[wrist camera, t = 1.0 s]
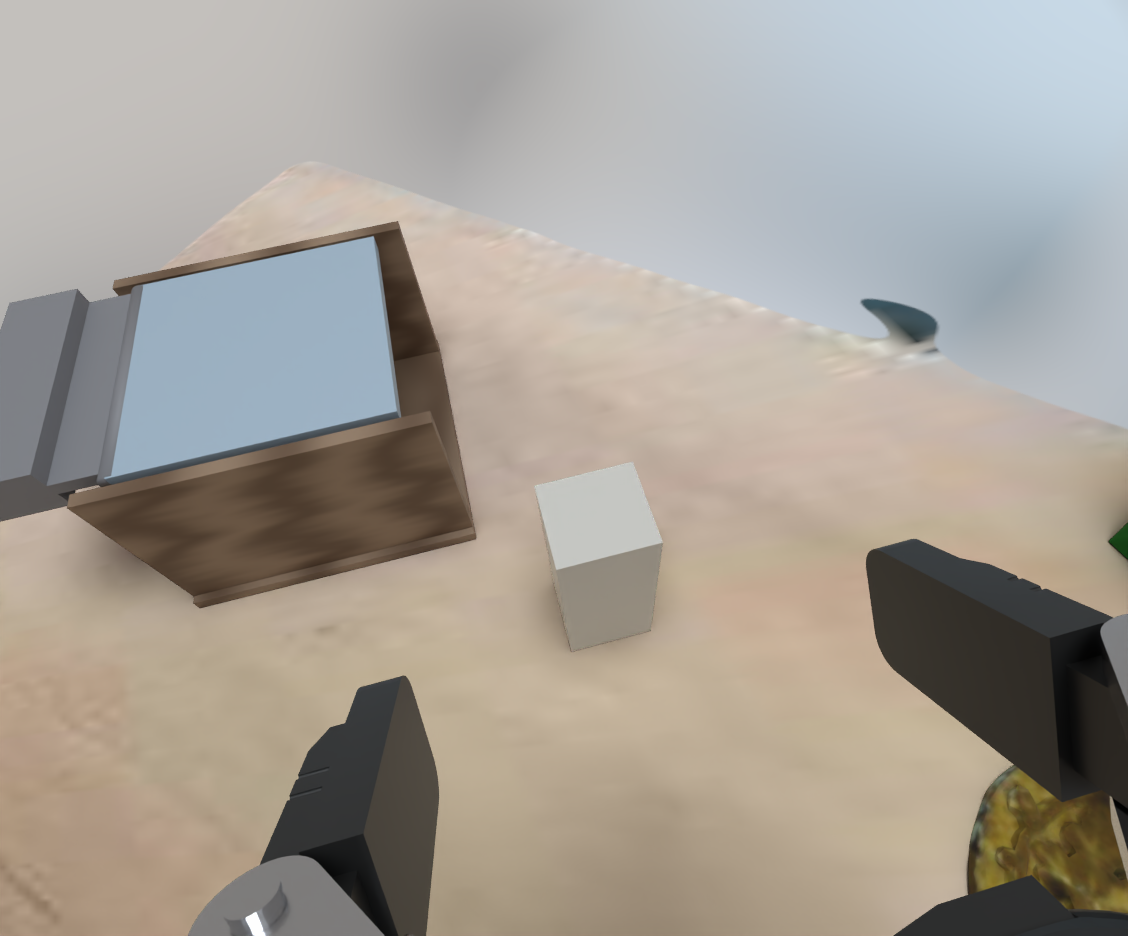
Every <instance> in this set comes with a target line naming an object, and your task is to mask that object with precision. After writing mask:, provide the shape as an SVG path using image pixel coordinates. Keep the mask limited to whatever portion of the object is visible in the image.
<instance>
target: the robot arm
mask: <svg viewBox="0 0 1128 936" xmlns="http://www.w3.org/2000/svg"><path fill="white" fill-rule="evenodd" d="M866 570H867V577H868V584H869V592H870V599H871V606H872V613H873V621H874V628H875V635H876V639H877V642H878V645H879V648H880V650H881V652H882V654H883V656H884V658H885V659H886V661H887V662H888V664H889V665H890V666H891V667H892V668H893V669H894V670H895V671H896V672H897V673H898V674H900V675H901V676H902V677H903V678H905V679H906V680H907V681H909V682H910V683H911V684H912V685H914V686H915V687H916V688H917V689H919V690H920V691H921V692H922V693H924V694H925V695H926V696H928V697H929V698H930V699H931V700H933V701H934V702H935V703H936V704H938V705H939V706H940V707H942V708H943V709H944V710H945V711H947V712H948V713H949V714H950V715H952V716H953V717H954V718H955V719H957V720H958V721H959V722H961V723H962V724H963V725H964V726H966V727H967V728H968V729H969V730H971V731H972V732H973V733H975V734H976V735H977V736H978V737H980V738H981V739H982V740H983V741H985V742H986V743H987V744H989V745H990V746H991V747H992V748H994V749H995V750H996V751H997V752H999V753H1000V754H1001V755H1002V756H1004V757H1005V758H1006V759H1008V760H1009V761H1010V762H1011V763H1013V764H1014V765H1015V766H1016V767H1018V768H1019V769H1020V770H1022V771H1023V772H1024V773H1025V774H1027V775H1028V776H1029V777H1030V778H1032V779H1033V780H1034V781H1035V782H1037V783H1038V784H1039V785H1041V786H1042V787H1043V788H1044V789H1046V790H1047V791H1048V792H1049V793H1051V794H1052V795H1053V796H1055V797H1056V798H1057V799H1058V800H1060V801H1061V802H1065V801H1068V800H1071V799H1074V798H1078V797H1081V796H1084V795H1087V794H1090V793H1094V792H1097V791H1100V790H1103V791H1104V792H1105V793H1107V794H1108V795H1110V812H1111V822H1112V826H1113V829H1114V833H1115V836H1116V840H1117V844H1118V847H1119V851H1120V854H1121V858H1122V862H1123V865H1124V869H1125V872H1126V876H1127V880H1128V614H1125V615H1121V616H1117V617H1115V618H1113V617H1111V616H1108V615H1106V614H1104V613H1101V612H1099V611H1097V610H1095V609H1092V608H1090V607H1088V606H1085V605H1083V604H1081V603H1078V602H1076V601H1074V600H1071V599H1069V598H1067V597H1064V596H1062V595H1060V594H1057V593H1055V592H1053V591H1050V590H1048V589H1043V590H1042V589H1041V588H1040V586H1039V585H1036V584H1034V583H1032V582H1030V581H1027V580H1025V579H1023V578H1022V579H1018V578H1017V576H1016V575H1013V574H1011V573H1009V572H1006V571H1004V570H1002V569H999V568H997V567H995V566H992V565H990V564H986V563H981V562H976V561H971V560H966V559H961V558H958V557H956V556H954V555H951V554H949V553H947V552H945V551H942V550H940V549H938V548H936V547H933V546H931V545H929V544H927V543H924V542H922V541H920V540H917V539H910V540H907V541H903V542H899V543H896V544H892V545H888V546H885V547H881V548H877V549H873V550H871V551H870V552H869V553H868V555H867V559H866ZM298 776H299V779H298V780H296V781H295V784H294V786H293V788H292V791H291V793H290V795H289V796H290V800H288V801H287V802H286V805H285V807H284V809H283V812H282V814H281V816H280V819H279V821H278V823H277V826H276V828H275V830H274V833H273V835H272V837H271V840H270V842H269V844H268V847H267V849H266V851H265V854H264V856H263V858H262V861H261V863H260V865H259V866H257V867H255V868H253V869H251V870H249V871H248V872H246V873H244V874H243V875H241V876H240V877H238V878H237V879H235V880H234V881H233V882H231V883H230V884H229V885H227V886H226V887H225V888H224V889H223V890H222V891H220V892H219V893H218V894H217V895H216V896H215V897H214V898H213V899H212V900H211V901H210V902H209V903H208V904H207V906H206V907H205V908H204V909H203V911H202V912H201V913H200V914H199V916H198V917H197V919H196V921H195V922H194V924H193V925H192V928H191V930H190V932H189V934H188V936H426V929H427V919H428V909H429V898H430V888H431V877H432V867H433V856H434V846H435V836H436V825H437V815H438V804H439V786H438V777H437V771H436V766H435V762H434V758H433V754H432V751H431V748H430V745H429V741H428V738H427V735H426V732H425V728H424V725H423V722H422V719H421V715H420V712H419V709H418V706H417V702H416V699H415V696H414V693H413V690H412V687H411V684H410V682H409V680H408V678H407V677H406V676H400V677H397V678H393V679H389V680H386V681H382V682H378V683H375V684H371V685H367V686H364V687H360V688H359V689H358V690H357V692H356V695H355V698H354V701H353V703H352V706H351V709H350V712H349V714H348V717H347V720H346V723H345V724H341V725H337V726H334V727H330V728H329V729H328V730H327V732H326V733H325V734H324V735H323V736H322V737H321V738H320V739H319V740H318V741H317V742H316V744H315V745H314V746H313V747H312V748H311V749H310V750H309V751H308V754H307V756H306V758H305V761H304V763H303V765H302V768H301V770H300V772H299V774H298ZM894 936H1128V913H1121V912H1114V911H1106V910H1088V909H1066V908H1065V907H1064V906H1063V905H1062V904H1061V903H1060V902H1059V901H1058V900H1057V899H1056V898H1055V897H1054V896H1053V895H1052V894H1051V893H1050V892H1049V891H1048V890H1047V889H1046V888H1045V887H1044V886H1042V885H1041V884H1040V883H1039V882H1038V881H1037V880H1036V879H1035V878H1034V877H1033V876H1032V875H1030V876H1026V877H1023V878H1020V879H1017V880H1014V881H1011V882H1007V883H1004V884H1001V885H998V886H995V887H992V888H989V889H985V890H982V891H979V892H976V893H973V894H970V895H967V896H963V897H960V898H957V899H954V900H951V901H948V902H945V903H941V904H938V905H936V906H935V907H934V908H932V909H931V910H929V911H928V912H926V913H925V914H924V915H922V916H921V917H919V918H918V919H916V920H915V921H914V922H912V923H911V924H909V925H908V926H906V927H905V928H904V929H902V930H901V931H899V932H898V933H896V934H895V935H894Z"/></svg>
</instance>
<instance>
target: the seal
mask: <svg viewBox="0 0 1128 936" xmlns="http://www.w3.org/2000/svg"><path fill="white" fill-rule="evenodd" d="M968 868H969V895H970V894H973V893H976V892H979V891H982V890H985V889H989V888H992V887H995V886H998V885H1001V884H1004V883H1007V882H1011V881H1014V880H1017V879H1020V878H1023V877H1026V876H1030V875H1032V876H1033V877H1034V878H1035V879H1036V880H1037V881H1038V882H1039V883H1040V884H1041V885H1042V886H1044V887H1045V888H1046V889H1047V890H1048V891H1049V892H1050V893H1051V894H1052V895H1053V896H1054V897H1055V898H1056V899H1057V900H1058V901H1059V902H1060V903H1061V904H1062V905H1063V906H1064V907H1065V908H1066V909H1088V910H1106V911H1114V912H1121V913H1128V880H1127V876H1126V872H1125V869H1124V865H1123V862H1122V858H1121V854H1120V851H1119V847H1118V844H1117V840H1116V836H1115V833H1114V829H1113V826H1112V822H1111V812H1110V795H1108V794H1107V793H1105V792H1104V791H1103V790H1100V791H1097V792H1094V793H1090V794H1087V795H1084V796H1081V797H1078V798H1074V799H1071V800H1068V801H1065V802H1061V801H1060V800H1058V799H1057V798H1056V797H1055V796H1053V795H1052V794H1051V793H1049V792H1048V791H1047V790H1046V789H1044V788H1043V787H1042V786H1041V785H1039V784H1038V783H1037V782H1035V781H1034V780H1033V779H1032V778H1030V777H1029V776H1028V775H1027V774H1025V773H1024V772H1023V771H1022V770H1020V769H1019V768H1018V767H1016V766H1015V765H1013V766H1012V767H1010V768H1009V769H1008V770H1006V771H1005V772H1004V773H1003V774H1001V775H1000V776H999V777H998V778H997V779H996V780H995V781H994V782H993V784H992V785H991V786H990V787H989V788H988V790H987V792H986V794H985V795H984V798H983V800H982V803H981V806H980V809H979V812H978V816H977V819H976V822H975V825H974V828H973V831H972V835H971V841H970V851H969V858H968Z"/></svg>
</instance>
